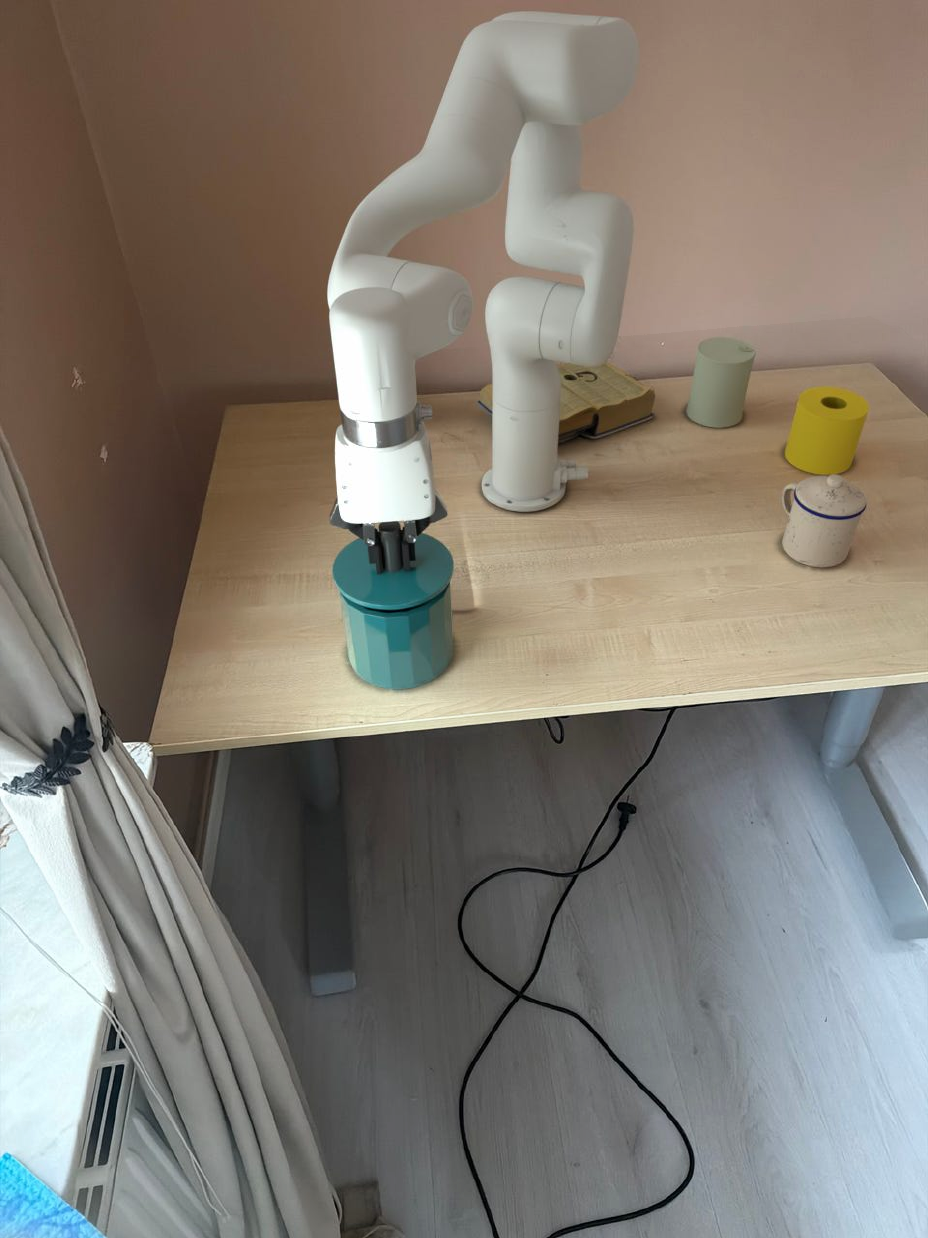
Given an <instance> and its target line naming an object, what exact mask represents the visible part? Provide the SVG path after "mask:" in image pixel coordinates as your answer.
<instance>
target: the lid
mask: <svg viewBox="0 0 928 1238" xmlns="http://www.w3.org/2000/svg"><path fill="white" fill-rule="evenodd" d="M401 530H402V525H401V523H400V521H392V522H379V524H378V532H379V537H380V545H381V555H382V565H383V573H381V574H377V572H376V563H375V564H370V563H369V555H368V546H367V545H365V543H364V540H362V539H361V538H359V537H358V538H355V539H354V540H353V541H351V542H349V543H348V544H347V545H345V546H344V547H343V548H342V549H341V550H340V551H339V553H338V554H337V555H336V557H335V559H334V562H333V564H332V571H331V572H332V579H333V583H334V585H335V587H336V588H337V590H338V592H339V591H340V592H341V593H342V594H343V595H344V596H345V597H346V598H348V599H349V600H351V601H353V602H355V603H357V604H359V605H362V606H365V607H369V608H375V609H385V610H392V609H403V608H408V607H413V606H416V605H419V604H422V603H424V602H427V601H429V600H430V599H432V598H434V597H435V596H437V595H438V594H440V593H441V592H442V591H443V590H444V589H445V588H446V587H447V585H448V584H449V582H450V583H451V581H452V578H453V575H454V570H455V569H454V568H455V567H454V559H453V555H452V553H451V551H450V549H449V548H448V547H447V546H446V545H445V544H444V543H443V542H442V541H440V540H439V539H437V538H435V537H433V536H431V535H429V534H428V533H427V534H426V533H423V532H422V533H421V534H420V535H419V536H417V540H416V542H415V556H416V561H410V572H406V571H404V566H403V553H402V541H401V538H402V536H401Z"/></svg>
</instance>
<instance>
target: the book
mask: <svg viewBox="0 0 928 1238" xmlns="http://www.w3.org/2000/svg"><path fill="white" fill-rule="evenodd" d="M556 366H557V368H558V371H559V375H560V379H561V401H560V417H559V433H558V444H559V443H563V442H566V441H569V440H571V439H574V438H577V437H578V436H580V435H581V436H583V437H586V438H589V439H593V440H596V439H598V438H603V437H605V436H608V435H611V434H614V433H616V432H619V431H622V430H626V429H628V428H630V427H633V426H635V425H638V424H640V423H644V422H646V421H648V420H650V419H653V418H654V416H655V413H654V412H653V409H654V405H655V401H656V393H655V391H654V390H653V389H651V387H652V385H645V384H643V383H641V382H639V381H638V380H636V379H635V378H634V377H632V376H629V374H627V372H625V371H624V370H623V369H621V368H619V367H617V366H616V365H614V364H613V363H611V362H609V360H607V361H606V362H605V363H604V364H602V365H600V366H596V367H586V366H579V365H573V364H568V363H562V364H556ZM479 396H480V398H479V400H477V401H476V404H477V405H478V406H479V407H480V408H481V409H482V410H484V412H486V413H487V414H489V415H490V416H491V417H492V413H493V382H492V383H487V384H486V385H485V387H482V388H481V389H480V395H479Z"/></svg>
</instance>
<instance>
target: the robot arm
mask: <svg viewBox="0 0 928 1238" xmlns="http://www.w3.org/2000/svg"><path fill="white" fill-rule="evenodd" d="M638 41H639V40H638V37H637V34H636V32H635V29H634V28H633V26H632V25H631V24H630V23H629V21H627V20H625V19H624V18H621V17H612V16H604V15H588V14H574V13H562V12H553V11H552V12H551V11H550V12H549V11H527V10H526V11H512V12H507V13H502V14H500V15H497V16H495V17H494V18H493V19H492V20H490V21H486V22H483V23H481V24H479V25H477V26H475V27H474V28H473V29H471V31H470V32H469V33H468V34H467V35H466V37H465V39H464V40H463V43H462V45H461V47H460V48H459V51H458V55H457V57H456V59H455V62H454V64H453V68H452V70H451V72H450V75H449V78H448V80H447V83H446V86H445V89H444V91H443V94H442V96H441V100H440V102H439V105H438V108H437V110H436V112H435V116H434V118H433V121H432V123H431V125H430V128H429V131H428V134H427V137H426V138H425V139H426V140H425V142H424V144H423V147H422V149H421V150H420V151H419V153H418V154H417V155H415V156H414V157H412V158H411V159H409V160H408V161H406V162H405V163H404V164H402V165H400V167H398V168H397V169H395V170H394V171H393V172H391V174H389V175H388V176H387V177H386V178H385V179H383V180H382V181H381V182H380V183H379V184H377V186H375V187H374V189H372V190H371V191H370V192H369V193H368V194H367V195H366V196H365V197H364V198H363V199H362V201H361V202H360V203H359V204H358V206H356V208H355V210H354V211H353V212H352V214H351V216H350V218H349V220H348V223H347V225H346V227H345V230H344V233H343V234H342V238H341V239H340V243H339V246H338V248H337V251H336V253H335V255H334V259H333V262H332V265H331V268H330V269H331V270H330V273H329V277H328V282H327V292H326V293H327V294H326V297H327V305H328V308H329V315H328V319H329V329H330V337H331V345H332V355H333V361H334V362H333V363H334V371H335V378H336V387H337V388H336V389H337V395H338V404H339V412H340V419H341V424H340V425H339V426H338V427H337V428H336V430H335V439H334V465H335V466H334V467H335V481H336V482H335V483H336V492H337V496H336V498H335V501H334V503H333V506H332V508H331V510H330V512H329V519H328V522H329V525H331V526H332V527H335V528H339V529H342V530H348V531H349V532H350V533H351V534H353V535H354V536H356V537H358V538H361V539H362V540H364V543H365V545H367V546H368V555H369V563H370V564H375V563H376V572H377V574H381V573H383V565H382V555H381V545H380V537H379V532H378V531H379V528H376V527H375V526H376V525H375V523H377V524H378V523H381V522H392V521H398V522H403V527H402V526H401V536H402V538H401V541H402V553H403V566H404V571H406V572H410V561H416V556H415V542H416V540H417V536H419V535H420V534H421V533H423V532H424V531H425V530H426V529H427V528H428V527H430V525H431V524H435V523H437V522H439V521H440V520H443V519H445V518H447V517H448V513H449V512H448V508H447V505H446V504H445V502H444V500H443V499H442V497H441V496H440V494H439V493H438V491H437V489H436V486H435V475H434V473H435V472H434V464H433V455H432V447H431V444H430V437H429V434H428V430H427V427H426V424H425V422H426V420H433V418H434V416H433V405H425V404H421V401H419V400H418V394H417V377H416V362H417V361H418V360H420V359H421V358H424V357H426V356H428V355H431V354H434V353H436V352H438V351H441V350H443V349H445V348H446V347H448V346H449V345H452V344H453V343H454V342H456V340H458V339H459V338H460V337H461V335H463V333H464V332H465V330H466V329H467V327H468V325H469V323H470V321H471V319H472V314H473V310H474V309H473V308H474V296H473V291H472V288H471V286H470V284H469V282H468V281H467V279H466V278H465V277H464V276H463V275H461V273H459V272H457V271H455V270H453V269H450V268H447V267H443V266H439V265H433V264H427V263H421V262H416V261H412V260H408V259H402V258H396V257H390V256H389V254H390V253H391V251H392V250H393V248H394V247H395V246H396V245H397V244H398V243H399V242H400V241H401V240H402V239H403V238H404V237H406V236H408V235H409V234H410V233H412V232H413V231H415V230H416V229H418V228H420V227H423V226H424V225H427V224H430V223H432V222H435V221H438V220H441V219H445V218H447V217H450V216H455V215H457V214H460V213H463V212H466V211H470V210H472V209H474V208H477V207H481V206H483V205H485V204H486V203H489V202H491V200H493V199H494V198H495V197H496V196H497V195H498V194H499V191H500V190H501V188H502V186H503V183H504V179H505V178H506V174H507V172H508V169H509V177H508V178H509V180H508V189H507V190H508V191H507V201H506V212H505V225H504V245H505V251H506V253H507V255H508V257H509V258H510V259H511V260H512V261H514V262H515V263H517V264H519V265H521V266H524V267H525V266H526V267H529V268H532V269H533V268H534V269H540V270H545V271H551V272H556V273H563V274H569V275H575V276H580V277H581V278H582V281H583V284H584V286H581V285H575V284H570V283H563V282H561V281H556V280H555V281H554V280H548V279H542V278H536V277H529V276H513V277H508V278H504V279H503V280H501V281H499V282H498V283H497V284H495V286H493V287H492V289H491V291H490V292H489V294H488V296H487V299H486V302H485V308H484V309H485V310H484V320H485V321H484V322H485V329H486V335H487V340H488V345H489V350H490V358H491V370H492V372H491V373H492V375H491V376H492V377H491V378H492V383H493V413H492V416H491V417H492V419H491V420H492V424H491V425H492V426H491V427H492V431H491V432H492V435H491V436H492V437H491V438H492V439H491V440H492V442H491V444H492V445H491V449H492V450H491V454H492V455H491V467H490V468H489V469H488V470H487V471H486V472H484V474H483V476H482V479H481V491H482V494H483V496H484V497H485V498H486V500H487V501H489V502H490V503H491V504H492V505H494V506H497V507H498V508H500V509H504V510H507V511H512V512H520V513H526V512H527V513H529V512H530V513H531V512H538V511H543V510H546V509H548V508H550V507H552V506H554V505H555V504H557V503H558V502H560V501H561V500H562V499H563V497H564V496H565V494H566V488H567V487H566V485H567V482H568V481H574V480H575V481H580V480H581V481H582V480H588V479H589V468H588V466H585V465H584V466H577V464H578V463H577V460H576V459H568V460H561V459H560V458H558V447H559V443H558V433H559V417H560V401H561V379H560V375H559V371H558V368H557V366H556V365H557V364H556V362H559V363H562V364H573V365H579V366H586V367H596V366H600V365H602V364H604V363H605V362H606V361H609V359H610V358H611V357H612V354H613V353H614V351H615V348H616V345H617V340H618V337H619V332H620V327H621V321H622V317H623V316H622V315H623V309H624V303H625V296H626V291H627V290H626V288H627V284H628V283H627V282H628V277H629V272H630V271H629V269H630V264H631V257H632V251H633V241H634V231H635V230H634V229H635V228H634V217H633V212H632V208H631V207H630V205H629V203H628V202H627V201H626V200H625V199H623V198H622V197H620V196H618V195H616V194H613V193H608V192H600V191H593V190H586V189H582V187H581V181H580V180H581V172H582V171H581V169H582V163H583V161H582V160H583V154H584V138H583V134H582V131H581V127H580V126H583V125H587V124H590V123H591V122H594V121H596V120H598V119H600V118H602V117H604V116H606V115H608V114H611V113H612V112H614V111H616V110H617V109H618V108H620V106H622V104H623V103H624V102H625V101H626V100H627V98H628V97H629V95H630V93H631V91H632V89H633V86H634V84H635V82H636V78H637V75H638V69H639V64H640V47H639V42H638ZM509 167H510V168H509Z"/></svg>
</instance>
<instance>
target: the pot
mask: <svg viewBox="0 0 928 1238" xmlns="http://www.w3.org/2000/svg"><path fill="white" fill-rule="evenodd" d="M451 589H452V587H451V581H450V582H449V584H448V585H447V587H446V588H445V589H444V590H443V591H442V592H441V593H440V594H438V595H437V596H435V597H434V598H432V599H430V600H429V601H427V602H424V603H422V604H419V605H416V606H413V607H408V608H403V609H392V610H385V609H375V608H369V607H365V606H362V605H359V604H357V603H355V602H353V601H351V600H349V599H348V598H346V597H345V596H344V595H343V594H342V593H341V592H340V591H339V590H338V594H339V601H340V608H341V615H342V621H343V628H344V635H345V642H346V649H347V657H348V661H349V662H350V665H351V668H352V670H353V671H354V672H355V674H356V675H357V676H358V677H359V678H360V679H362V680H363V681H365V682H366V683H369V684H370V685H373V686H374V687H378V688H382V689H385V690H386V689H387V690H408V689H413V688H417V687H421V686H423V685H426V684H427V683H430V682H432V681H434V680H435V679H437V678H438V677H439V676H441V675H442V674H443V673H444V671H445V670H446V669H447V667H449V664H450V662H451V660H452V656H453V652H454V645H453V644H454V643H453V641H454V640H453V618H452V617H453V615H452V590H451Z"/></svg>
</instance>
